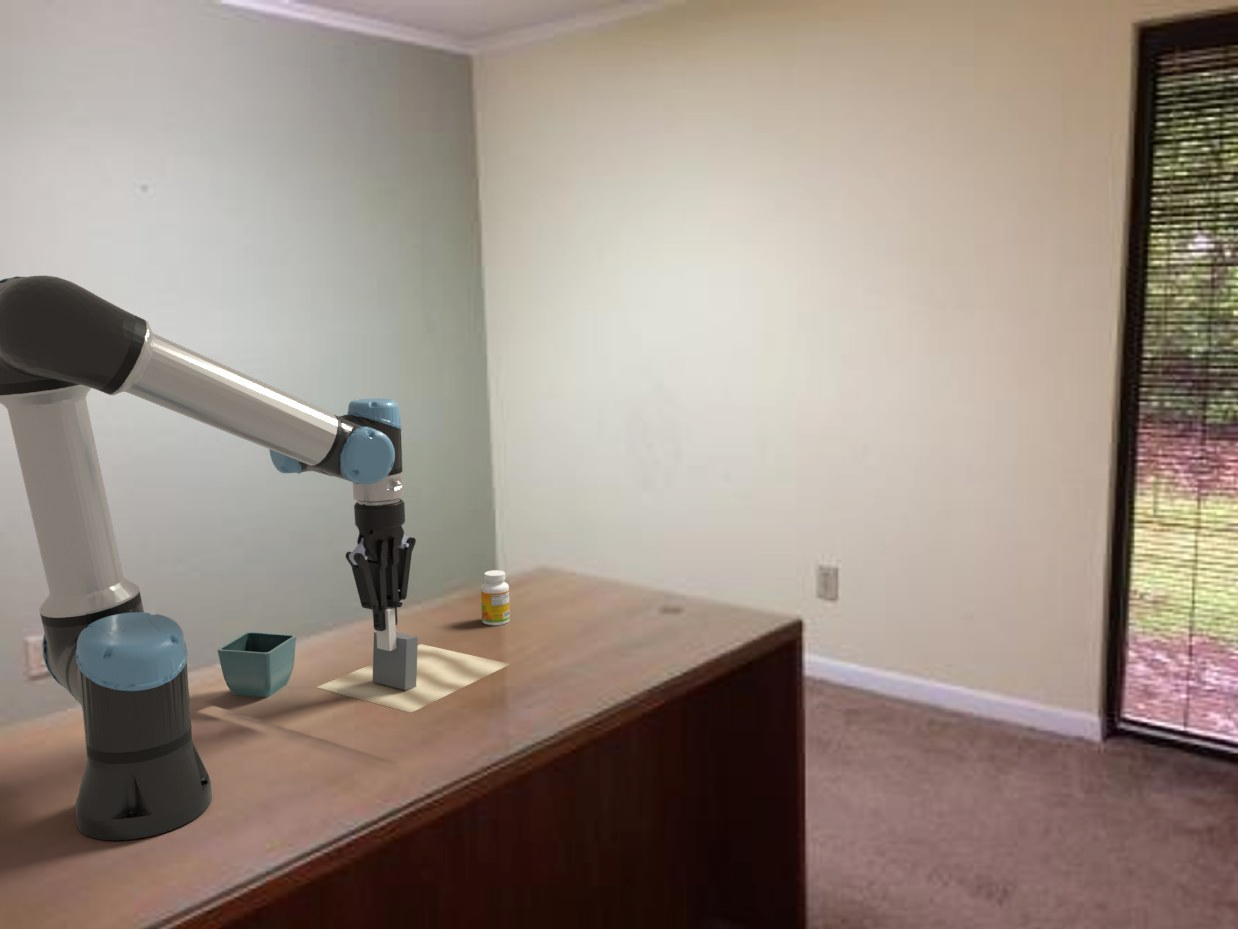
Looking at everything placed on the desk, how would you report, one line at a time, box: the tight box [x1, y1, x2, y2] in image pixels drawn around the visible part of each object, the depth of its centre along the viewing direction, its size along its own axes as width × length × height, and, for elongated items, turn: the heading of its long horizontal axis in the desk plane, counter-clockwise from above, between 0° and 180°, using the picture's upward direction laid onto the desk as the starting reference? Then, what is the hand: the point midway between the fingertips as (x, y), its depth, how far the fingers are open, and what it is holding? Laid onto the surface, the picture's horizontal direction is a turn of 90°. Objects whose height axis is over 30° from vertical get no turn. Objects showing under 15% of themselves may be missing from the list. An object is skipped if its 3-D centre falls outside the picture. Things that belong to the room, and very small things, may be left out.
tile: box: [372, 631, 419, 690], centre depth 164 cm, size 3×7×8 cm, turn 58°
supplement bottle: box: [480, 569, 511, 626], centre depth 199 cm, size 5×5×10 cm
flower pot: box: [217, 631, 297, 698], centre depth 162 cm, size 9×9×9 cm
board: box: [316, 643, 511, 714], centre depth 168 cm, size 24×20×1 cm
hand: (386, 648), depth 162 cm, fingers closed
